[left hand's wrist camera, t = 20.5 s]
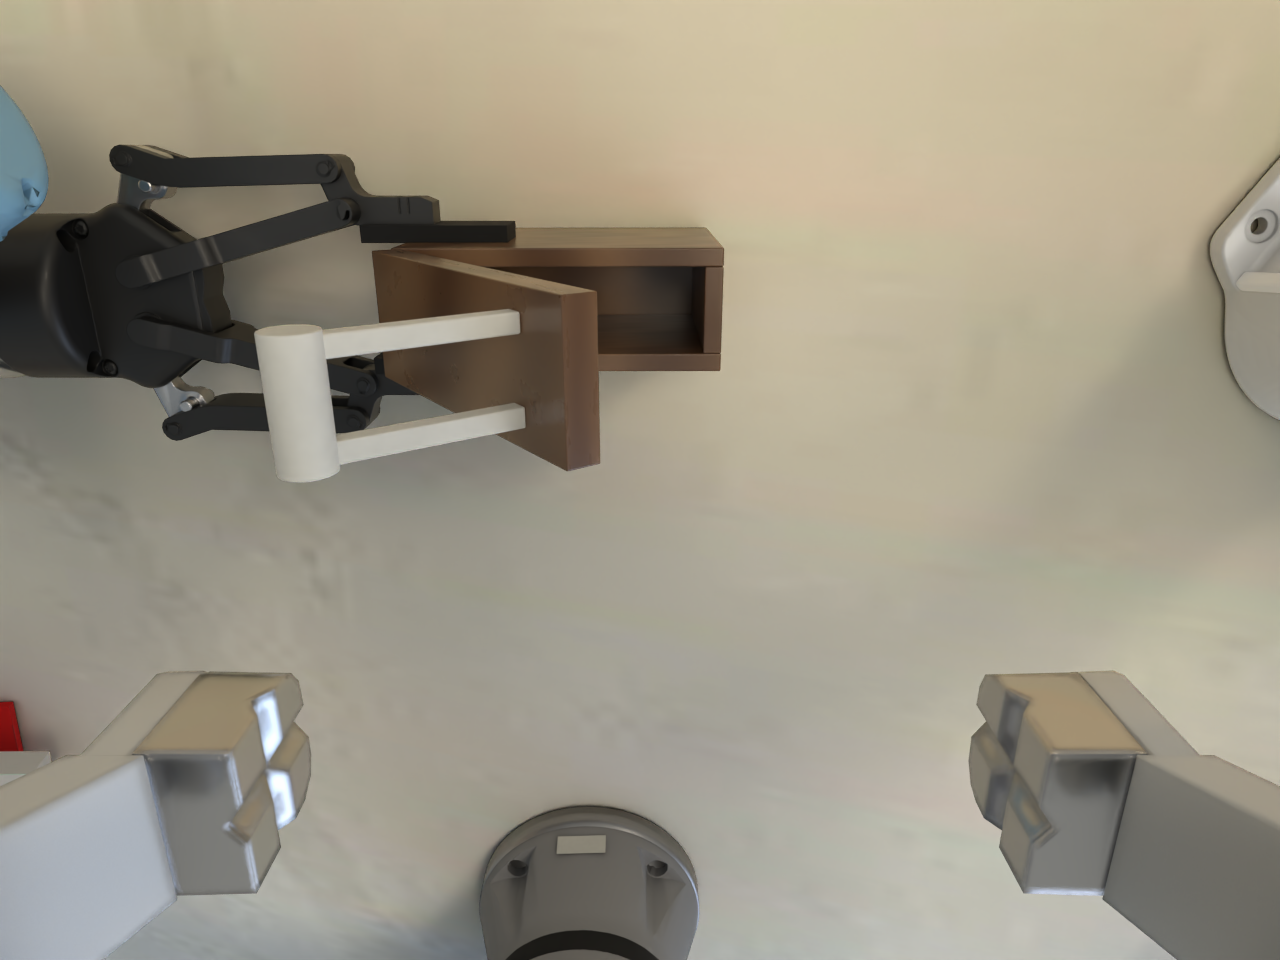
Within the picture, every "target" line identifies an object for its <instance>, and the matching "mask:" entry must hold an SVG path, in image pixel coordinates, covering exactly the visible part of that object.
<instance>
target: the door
mask: <svg viewBox="0 0 1280 960" xmlns="http://www.w3.org/2000/svg"><path fill="white" fill-rule="evenodd" d="M372 257H373V266H374V276H375V285H376V294H377V304H378V313H379V322H380V323H378V324H369V325H360V326H351V327H342V328H333V329H324V330H322V328H321V327H319V326H316V325H308V324H289V325H278V326H271V327H266V328H262V329H259V330H257V331H255V333H254V337H255V343H256V349H257V356H258V362H259V368H260V375H261V381H262V387H263V394H264V400H265V406H266V413H267V419H268V425H269V432H270V438H271V444H272V451H273V457H274V463H275V470H276V476H277V477H278V478H279V479H280V480H282V481H286V482H294V483H303V482H313V481H318V480H322V479H326V478H329V477H331V476H333V475H335V474H337V473H338V472H339V470H340V465H342V464H347V463H352V462H357V461H362V460H367V459H372V458H377V457H382V456H387V455H392V454H397V453H402V452H407V451H412V450H417V449H422V448H427V447H432V446H437V445H442V444H447V443H452V442H457V441H462V440H467V439H472V438H477V437H482V436H487V435H492V434H496V435H498V436H500V437H502V438H504V439H506V440H508V441H510V442H512V443H514V444H516V445H517V446H519V447H521V448H523V449H525V450H527V451H529V452H531V453H533V454H535V455H537V456H539V457H541V458H542V459H544V460H546V461H548V462H550V463H552V464H554V465H556V466H558V467H560V468H562V469H564V470H565V471H571V470H575V469H579V468H584V467H588V466H592V465H596V464H600V429H599V376H598V323H597V292H596V291H593V290H588V289H584V288H579V287H574V286H570V285H565V284H560V283H556V282H551V281H546V280H542V279H537V278H532V277H528V276H523V275H518V274H514V273H509V272H504V271H499V270H495V269H490V268H485V267H481V266H476V265H471V264H467V263H462V262H457V261H453V260H448V259H443V258H439V257H434V256H429V255H425V254H420V253H415V252H411V251H406V250H401V249H394V250H378V251H372ZM378 352H383V360H384V369H385V377H387V378H389V379H391V380H393V381H394V382H396V383H398V384H400V385H402V386H404V387H406V388H408V389H410V390H412V391H414V392H416V393H417V394H419V395H421V396H423V397H425V398H427V399H429V400H431V401H433V402H435V403H437V404H439V405H441V406H442V407H444V408H446V409H448V410H450V411H452V412H454V413H455V414H449V415H443V416H438V417H432V418H427V419H421V420H416V421H410V422H405V423H399V424H393V425H388V426H382V427H377V428H371V429H366V430H360V431H354V432H349V433H343V434H338V435H336V430H335V423H334V415H333V407H332V399H331V392H330V384H329V376H328V369H327V361H326V359H332V358H340V357H348V356H355V355H363V354H370V353H378Z"/></svg>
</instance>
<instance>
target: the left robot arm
mask: <svg viewBox="0 0 1280 960" xmlns="http://www.w3.org/2000/svg"><path fill="white" fill-rule="evenodd" d="M1255 219H1258V227H1257V229H1256V230H1255V231H1254V232H1251V224H1252V222H1253V221H1254V220H1255ZM1210 257H1211V261H1212V264H1213V267H1214V270H1215V272H1216V275H1217V277H1218V279H1219V282H1220V284H1221V286H1222V288H1223V290H1224V295H1225V329H1224V332H1225V346H1226V352H1227V357H1228V361H1229V364H1230V367H1231V370H1232V372H1233V375H1234V377H1235V379H1236V381H1237V383H1238V384H1239V386H1240V388H1241V389H1242V391H1243V392H1244V393H1245V394H1246V396H1247V397H1248V398H1249V399H1250V400H1251V401H1252V402H1253V403H1254V404H1255V405H1256V406H1257V407H1258V408H1260V409H1261V410H1262V411H1264V412H1265V413H1267V414H1268V415H1270V416H1272V417H1274V418H1276V419H1278V420H1280V158H1279V159H1278V160H1277V161H1276V163H1275V164H1274V165H1273V166H1272V167H1271V168H1270V169H1269V171H1268V172H1267V173H1266V174H1265V175H1264V176H1263V177H1262V179H1261V180H1260V181H1259V182H1258V183H1257V184H1256V186H1255V187H1254V188H1253V189H1252V190H1251V191H1250V192H1249V194H1248V195H1247V196H1246V197H1245V198H1244V199H1243V200H1242V202H1241V203H1240V204H1239V205H1238V206H1237V207H1236V209H1235V210H1234V211H1233V212H1232V213H1231V214H1230V215H1229V217H1228V218H1227V219H1226V220H1225V221H1224V222H1223V223H1222V225H1221V226H1220V227H1219V228H1218V229H1217V231H1216V232H1215V234H1214V235H1213V237H1212V240H1211V243H1210ZM302 706H303V700H302V695H301V690H300V685H299V681H298V680H297V679H296V678H295V676H294V675H293V674H292V673H259V672H205V671H168V672H164V673H160V674H157V675H156V676H155V677H154V678H153V679H152V680H151V681H150V682H149V683H148V684H147V685H146V686H145V687H144V688H143V689H142V690H141V691H140V693H139V694H138V695H137V696H136V697H135V698H134V699H133V700H132V701H131V702H130V703H129V704H128V705H127V706H126V707H125V708H124V709H123V711H122V712H121V713H120V714H119V715H118V716H117V717H116V718H115V719H114V720H113V721H112V722H111V723H110V724H109V725H108V726H107V727H106V728H105V730H104V731H103V732H102V733H101V734H100V735H99V736H98V737H97V738H96V739H95V740H94V741H93V742H92V743H91V744H90V745H89V746H88V748H87V749H86V750H85V751H84V752H83V753H82V754H81V755H66V756H64V757H61V758H59V759H57V760H55V761H53V762H51V763H49V764H47V765H44V766H42V767H40V768H38V769H36V770H34V771H32V772H30V773H27V774H25V775H23V776H21V777H19V778H17V779H15V780H13V781H10V782H8V783H6V784H4V785H2V786H0V960H103V959H105V958H106V957H107V956H108V955H110V954H111V953H112V952H113V951H115V950H116V949H117V948H118V947H119V946H121V945H122V944H123V943H124V942H126V941H127V940H128V939H129V938H131V937H132V936H133V935H134V934H136V933H137V932H138V931H139V930H140V929H142V928H143V927H144V926H145V925H147V924H148V923H149V922H150V921H152V920H153V919H154V918H155V917H156V916H158V915H159V914H160V913H161V912H163V911H164V910H165V909H166V908H168V907H169V906H170V905H171V904H173V903H174V902H175V901H176V900H177V896H178V895H212V894H247V893H257V891H258V890H259V888H260V886H261V884H262V882H263V880H264V878H265V876H266V874H267V873H268V871H269V869H270V867H271V865H272V863H273V861H274V859H275V857H276V855H277V854H278V852H279V850H280V848H281V845H280V839H279V833H278V830H279V829H281V828H282V827H284V826H285V825H287V824H288V823H290V822H291V821H293V820H294V819H295V818H296V817H297V815H298V813H299V811H300V809H301V807H302V805H303V803H304V801H305V798H306V793H307V789H308V785H309V780H310V776H311V751H310V744H309V737H308V736H307V735H306V734H305V733H304V732H303V731H302V729H301V728H300V727H299V726H298V725H297V724H296V723H295V722H294V720H295V718H296V716H297V715H298V713H299V711H300V710H301V708H302ZM977 706H978V708H979V710H980V711H981V713H982V715H983V716H984V718H985V720H986V722H985V723H984V724H983V725H982V726H981V727H980V728H979V729H978V731H977V732H976V733H975V734H974V735H973V736H972V737H971V745H970V753H969V771H970V782H971V787H972V790H973V794H974V797H975V800H976V803H977V805H978V807H979V809H980V811H981V813H982V815H983V817H984V818H985V819H986V820H988V821H989V822H990V823H992V824H993V825H995V826H996V827H998V828H999V829H1001V830H1002V833H1001V839H1000V845H999V848H1000V850H1001V852H1002V854H1003V855H1004V857H1005V859H1006V861H1007V863H1008V865H1009V867H1010V869H1011V871H1012V872H1013V874H1014V876H1015V878H1016V880H1017V882H1018V884H1019V886H1020V887H1021V889H1022V891H1023V893H1031V894H1066V895H1102V896H1103V900H1104V901H1105V902H1107V903H1108V904H1109V905H1110V906H1112V907H1113V908H1114V909H1115V910H1117V911H1118V912H1119V913H1120V914H1121V915H1123V916H1124V917H1125V918H1126V919H1128V920H1129V921H1130V922H1131V923H1133V924H1134V925H1135V926H1136V927H1137V928H1139V929H1140V930H1141V931H1142V932H1144V933H1145V934H1146V935H1147V936H1149V937H1150V938H1151V939H1152V940H1153V941H1155V942H1156V943H1157V944H1158V945H1160V946H1161V947H1162V948H1163V949H1165V950H1166V951H1167V952H1168V953H1169V954H1171V955H1172V956H1173V957H1174V958H1176V959H1177V960H1280V786H1278V785H1276V784H1274V783H1272V782H1269V781H1267V780H1265V779H1263V778H1261V777H1259V776H1257V775H1255V774H1252V773H1250V772H1248V771H1246V770H1244V769H1242V768H1240V767H1238V766H1236V765H1233V764H1231V763H1229V762H1227V761H1225V760H1223V759H1221V758H1219V757H1216V756H1214V755H1199V754H1198V753H1197V752H1196V751H1195V750H1194V749H1193V747H1192V746H1191V745H1190V744H1189V743H1188V742H1187V741H1186V740H1185V739H1184V738H1183V737H1182V736H1181V735H1180V734H1179V733H1178V732H1177V731H1176V729H1175V728H1174V727H1173V726H1172V725H1171V724H1170V723H1169V722H1168V721H1167V720H1166V719H1165V718H1164V717H1163V716H1162V715H1161V714H1160V713H1159V711H1158V710H1157V709H1156V708H1155V707H1154V706H1153V705H1152V704H1151V703H1150V702H1149V701H1148V700H1147V699H1146V698H1145V697H1144V696H1143V694H1142V693H1141V692H1140V691H1139V690H1138V689H1137V688H1136V687H1135V686H1134V685H1133V684H1132V683H1131V682H1130V681H1129V680H1128V679H1127V678H1126V676H1125V675H1122V674H1120V673H1118V672H1115V671H1089V672H1071V673H1031V674H989V675H985V676H984V678H983V681H982V683H981V685H980V688H979V694H978V699H977Z"/></svg>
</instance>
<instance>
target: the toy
mask: <svg viewBox="0 0 1280 960" xmlns="http://www.w3.org/2000/svg"><path fill="white" fill-rule="evenodd" d="M49 763H51V756H50V751H23V747H22V742H21V737H20V733H19V728H18V723H17V718H16V713H15V709H14V704H13V702H0V786H2V785H4V784H6V783H8V782H10V781H13V780H15V779H17V778H19V777H21V776H23V775H25V774H27V773H30V772H32V771H34V770H36V769H38V768H40V767H42V766H44V765H47V764H49Z"/></svg>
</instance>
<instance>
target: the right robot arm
mask: <svg viewBox="0 0 1280 960" xmlns="http://www.w3.org/2000/svg"><path fill="white" fill-rule="evenodd" d="M109 156H110V162H111V164H112V166H113V167H114V168H115V169H116V171H118V172H120V173H121V174H120V182H119V190H118V199H117V203H114V204H110V205H108V206H106V207H104V208H103V209H102V210H100V211H98V212H96V213H93V214H33V213H34V212H35V211H36V210H37V209H38V208H39V207H40V206H41V204H42V203H43V202H44V200H45V197H46V194H47V190H48V169H47V164H46V161H45V157H44V154H43V151H42V148H41V146H40V143H39V141H38V139H37V137H36V135H35V133H34V131H33V129H32V128H31V126H30V124H29V122H28V121H27V119H26V118H25V116H24V115H23V113H22V112H21V110H20V109H19V107H18V106H17V105H16V104H15V102H14V101H13V100H12V98H11V97H10V96H9V95H8V94H7V92H6V91H5V90H4V89H3V88H2V87H1V85H0V378H16V377H21V376H26V375H27V376H31V377H50V378H111V377H117V378H124V379H128V380H131V381H133V382H135V383H137V384H139V385H141V386H144V387H148V388H154V390H155V392H156V394H157V396H158V397H159V399H160V401H161V403H162V405H163V407H164V409H165V410H166V412H167V414H168V416H169V417H168V418H167V419H165V420H164V422H163V426H162V428H163V431H164V433H165V435H166V436H167V437H169V438H170V439H172V440H176V441H177V440H182V439H185V438H188V437H191V436H194V435H197V434H200V433H203V432H206V431H209V430H245V431H269V425H268V419H267V413H266V406H265V400H264V394H261V393H229V394H222V395H219V396H215V397H214V392H213V391H212V390H210V389H207V388H205V387H202V386H197V387H193V386H189V385H187V384H186V383H185V382H184V381H183V380H182V379H181V376H183V375H184V374H185V373H186V372H187V371H189V370H190V369H191V368H192V367H194V366H195V365H196V364H197V363H198V362H200V361H201V360H202V359H203V360H207V361H211V362H215V363H232V364H237V365H240V366H244V367H248V368H252V369H256V370H260V368H259V362H258V356H257V349H256V343H255V337H254V333H255V331H257V330H258V329H255V328H254V326H252V325H250V324H246V323H242V322H239V321H235V320H231V316H230V310H229V308H228V306H227V303H226V301H225V299H224V296H223V284H224V273H223V267H222V264H223V263H227V262H230V261H233V260H237V259H240V258H243V257H246V256H250V255H253V254H257V253H260V252H264V251H267V250H270V249H274V248H277V247H281V246H284V245H287V244H291V243H294V242H298V241H301V240H305V239H308V238H311V237H315V236H318V235H322V234H325V233H328V232H332V231H335V230H339V229H342V228H346V227H349V226H352V225H360V234H361V243H486V242H509V241H511V240H512V239H514V238H515V237H516V230H515V221H440V209H439V200H437V199H434V198H432V197H429V196H375V195H371V194H368V193H367V192H366V191H364V190H363V188H362V187H361V185H360V184H359V182H358V179H357V177H356V175H355V166H354V163H353V161H352V160H351V159H350V158H349V157H347V156H346V155H342V154H308V155H272V156H237V157H202V158H188V157H185V156H182V155H179V154H176V153H174V152H171V151H168V150H165V149H162V148H159V147H156V146H150V145H117V146H114V147H113V148H112V149H111V152H110V155H109ZM288 184H321V186H322V188H323V190H324V192H325V194H326V196H327V199H328V202H324V203H321V204H317V205H314V206H311V207H307V208H304V209H301V210H297V211H294V212H290V213H287V214H284V215H280V216H277V217H274V218H270V219H267V220H263V221H260V222H257V223H253V224H250V225H247V226H243V227H240V228H236V229H233V230H230V231H226V232H223V233H220V234H216V235H213V236H209V237H205V238H201V239H198V240H197V239H195V238H194V237H192V236H191V235H189V234H188V233H186V232H185V231H183V230H182V229H180V228H179V227H177V226H176V225H174V224H173V223H171V222H170V221H168V220H167V219H165V218H164V217H162V216H161V215H159V214H158V213H156V212H155V211H153V210H152V209H150V205H151V203H152V202H153V201H154V200H155V199H167V198H171V197H172V196H174V195H175V193H176V191H177V188H178V187H217V186H252V185H288ZM326 361H327V369H328V376H329V384H330V389H333V390H337V391H341V392H345V393H349V394H350V396H333V395H331V399H332V407H333V415H334V423H335V430H336V433H349V432H354V431H360V430H364V429H365V428H366V427H367V426H368V425H369V424H370V423H371V422H372V421H373V420H374V419H375V418H376V417H377V416H378V415H379V413H380V403H381V399H382V396H384V395H419V394H417V393H416V392H414V391H412V390H410V389H408V388H406V387H404V386H402V385H400V384H398V383H396V382H394V381H393V380H391V379H389V378H387V377H385V369H384V360H383V352H382V353H380V354H379V355H378V356H377V357H375V358H374V360H372V359H368V358H364V357H360V356H357V355H355V356H348V357H340V358H332V359H326ZM479 911H480V919H481V924H482V930H483V936H484V941H485V947H486V953H487V958H488V960H687V957H688V954H689V951H690V948H691V945H692V941H693V938H694V935H695V932H696V930H697V925H698V920H699V900H698V887H697V880H696V875H695V872H694V868H693V866H692V864H691V861H690V859H689V858H688V856H687V854H686V853H685V851H684V850H683V849H682V847H681V846H680V845H679V844H678V843H677V842H676V840H675V839H674V838H672V837H671V836H670V835H669V834H668V833H667V832H665V831H664V830H663V829H661V828H660V827H658V826H657V825H655V824H653V823H652V822H650V821H648V820H646V819H644V818H642V817H639V816H636V815H634V814H631V813H628V812H624V811H620V810H615V809H611V808H602V807H575V808H566V809H562V810H557V811H553V812H550V813H546V814H544V815H541V816H538V817H536V818H534V819H532V820H530V821H528V822H526V823H524V824H523V825H521V826H520V827H518V828H517V829H515V830H514V831H513V832H511V833H510V834H509V835H508V836H507V837H506V838H505V839H504V840H503V841H502V842H501V844H500V845H499V846H498V847H497V849H496V850H495V852H494V853H493V855H492V857H491V859H490V861H489V863H488V866H487V869H486V873H485V877H484V882H483V886H482V891H481V895H480V904H479Z"/></svg>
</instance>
